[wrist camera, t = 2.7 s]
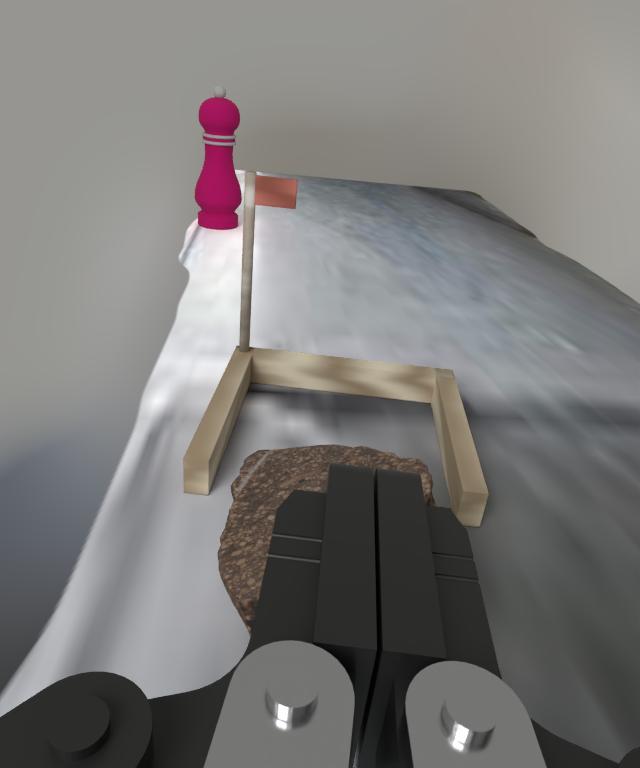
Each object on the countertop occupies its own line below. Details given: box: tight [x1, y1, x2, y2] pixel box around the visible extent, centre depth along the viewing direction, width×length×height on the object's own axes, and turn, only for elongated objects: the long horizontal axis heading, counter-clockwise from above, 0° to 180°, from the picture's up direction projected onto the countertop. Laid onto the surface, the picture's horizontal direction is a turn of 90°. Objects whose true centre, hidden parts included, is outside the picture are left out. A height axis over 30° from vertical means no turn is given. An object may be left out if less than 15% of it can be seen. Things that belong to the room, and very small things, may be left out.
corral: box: [183, 171, 489, 527], centre depth 40 cm, size 18×16×16 cm
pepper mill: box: [195, 86, 242, 229], centre depth 91 cm, size 7×7×20 cm
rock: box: [218, 445, 436, 637], centre depth 25 cm, size 12×10×10 cm
